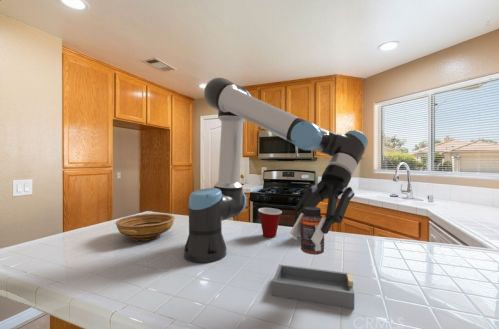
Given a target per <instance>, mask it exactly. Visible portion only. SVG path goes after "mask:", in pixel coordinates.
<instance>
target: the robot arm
mask: <svg viewBox="0 0 499 329" xmlns="http://www.w3.org/2000/svg"><path fill="white" fill-rule="evenodd" d="M203 94H204V95H203V96H204V100H205V102H206V104H207V105H208V106H209V107H211V108H212V109H213V110H216V111H217V119H219V121H220V122H221V123H220V124H221V126H220V128H221V130H220V144H219V145H220V146H219V162H218V163H219V164H218V179H217V181H216V182H215V183H214V186H213V187H208V188H200V189H197V190H194V191H192V192H191V193H190V195H189V198H188V204H187V205H188V236H187V239H186V241H185V242H186V243H185V245H184V249H183V258H184V259H185V260H186V261H189V262H192V263H203V264H205V263H212V262H217V261H219V260H222V259H223V258H225V257H226V255H227V246H226V242H225V239H224V236H223V233H222V232H223V231H222V230H223V229H222V224H223V223H222V221H225V220H226V221H227V220H228V219H231V218H236V217H237V216H238V215H239V216H240V214H242V213H243V212H244V211H245V208H246V207H247V195H246V194H245V192H244V190H243V185H242V183H241V182H240V173H241V172H240V171H241V156H242V140H243V124H244V123H245V122H246V121H248V122H249V123H250V124H251V123H252V124H253V125H255V126H258V127H260V128H261V129H263V130H266V131H267V132H269V133H272V134H274V135H276V136H277V137H279V138H282V139H283V140H285V141H287V142H289V143H291V144H293V145H294V146H295V147H297V148H298V149H300V150H303V151H311V152H317V153H321V154H324V155H328V156H330V157H331V158H330V160H329V161H328V164H327V166H326V167H325V169H324V171H323V172H322V175H321V180H320V181H319V182H317V184H312V183H309V184H308V185H307V189H306V190H305V192H304V194H303V195H302V197H301V198H300V199H299V201H298V203H297V204H296V205H295V207H294V210H295V211H296V213H297V215H296V218H295V220H294V222H293V223H294V225H293V226H292V228H291V230H290V232H289V234H290V235H291V236H292V238H293V239H294V240H298V238H299V236H300V233H301V217H302V216H303V215H304V214H305V212H304V211H305V207H317V206H318V204H320V203H321V202H324V200H326V199H327V206H326V213H325V214H324V217H323V216H322V219H321V221H320V222H319V224H318V226H317V228H316V230H315V232H314V234H313V236H312V238H311V240H312V241H313V243H314V244H315V245H316V246H319V244H320V242H321V240H322V238H323V236H324V237H325V235H327V234H328V233H329V231H330V230H331V227H332V225H333V224H335V223H336V224H341V223H342V222H343V219H344V218H345V215H346V212H347V209H348V207H349V205H350V202H351V200H352V199H353V198H354V197H355V192H354V190H353V189H352V187H351V186H348V185H350V182H351V180H352V177H353V175H354V173H355V171H356V169H357V167H358V164H359V163H360V161H361V159H362V157H363V155H364V153H365V151H366V148H367V146H368V142H369V140H368V137H367V136H366V134H365V133H363V132H362V131H359V130H357V129H354V130H348V131H346V132H345V133H344V134H342V133H338V132H334V131H330V130H327V129H325V128H323V127H320V126H318V124H316V123H314V122H311V121H309V120H308V121H307V119H303V118H300V117H299V116H296V115H295V114H293V113H290V112H289V111H285V110H284V109H281V108H279V107H276V106H274V105H271V104H269V103H267V102H265V101H263V100H260V99H259V98H256V97H253V96H252V95H251V94H250V92H249V91H248V89H246V88H244V87H243V86H241V85H238V84H236V83H234V82H232V81H230V80H228V79H226V78H224V77H215V78H212V79H211V80H209V81H208V82H207V83H206V85H205V87H204V91H203ZM339 197H340V198H339Z"/></svg>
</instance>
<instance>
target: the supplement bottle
mask: <svg viewBox="0 0 499 329" xmlns="http://www.w3.org/2000/svg"><path fill="white" fill-rule="evenodd" d="M304 212H305V214H304V215H303V216H302V217H301V236H300V250H301V251H302V252H303V253H305V254H308V255H312V256H313V255H314V256H316V255H322V254H323V253H325V235H324V236H323V238H322V240H321V242H320V244H319V246H316V245H315V244H314V243H313V241H312V240H311V238H312V236H313V234H314V232H315V230H316V228H317V226H318V224H319V222H320V221H321V219H322V217H323V216H322V215H321V213H322V212H321V208H320V207H317V206H316V207H305V211H304Z"/></svg>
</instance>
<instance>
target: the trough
mask: <svg viewBox="0 0 499 329" xmlns="http://www.w3.org/2000/svg"><path fill="white" fill-rule="evenodd" d="M272 296H275V297H280V298H286V299H293V300H298V301H305V302H310V303H317V304H321V305H329V306H335V307H343V308H348V309H353V310H354V309H355V291H354V279H353V276H352V274H350V273H349V272H343V271H341V272H340V271H334V270H327V269H326V270H325V269H319V268H310V267H302V266H293V265H284V264H279V265H278V267H277V269H276V272H275V274H274V277H273V280H272Z"/></svg>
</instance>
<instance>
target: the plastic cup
mask: <svg viewBox="0 0 499 329" xmlns="http://www.w3.org/2000/svg"><path fill="white" fill-rule="evenodd" d="M282 213H283V211H282V210H280V209H278V208H272V207H260V208H258V214H259V218H260V224H261V230H262V235H263V237H264V238H267V239H272V238H273V239H274V238H276V237H277V234H278V226H279V222H280V217H281V214H282Z"/></svg>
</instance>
